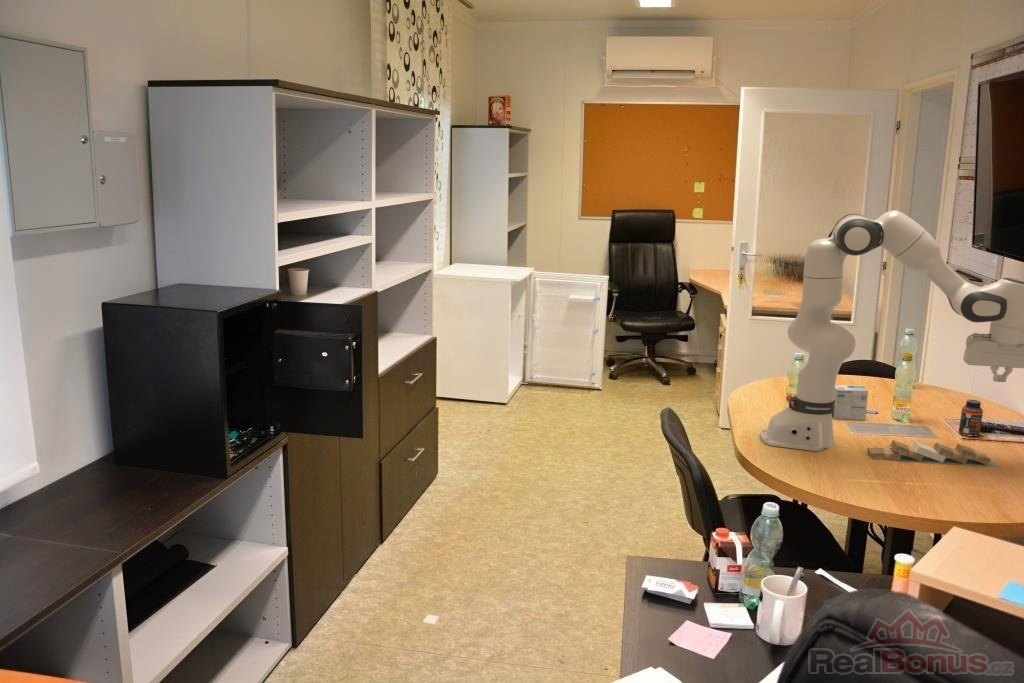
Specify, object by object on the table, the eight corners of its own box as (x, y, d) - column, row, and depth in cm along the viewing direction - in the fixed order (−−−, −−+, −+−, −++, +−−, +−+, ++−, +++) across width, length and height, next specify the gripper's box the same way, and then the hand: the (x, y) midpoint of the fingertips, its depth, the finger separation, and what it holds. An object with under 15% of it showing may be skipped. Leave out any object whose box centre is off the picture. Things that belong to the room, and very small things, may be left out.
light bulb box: (859, 414, 282) (862, 384, 280) (866, 420, 275) (869, 390, 273) (828, 413, 283) (831, 383, 281) (833, 419, 276) (836, 389, 274)
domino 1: (900, 460, 238) (871, 459, 240) (895, 454, 243) (867, 453, 244) (900, 453, 238) (871, 453, 239) (895, 447, 243) (867, 447, 244)
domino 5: (987, 465, 234) (960, 455, 235) (980, 459, 239) (954, 449, 240) (990, 459, 234) (964, 449, 235) (984, 453, 239) (957, 443, 239)
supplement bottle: (968, 438, 258) (973, 404, 256) (954, 432, 264) (958, 399, 261) (983, 436, 260) (988, 403, 257) (969, 430, 266) (973, 397, 263)
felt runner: (899, 461, 238) (899, 460, 238) (893, 454, 244) (893, 453, 244) (998, 467, 234) (998, 466, 234) (990, 460, 240) (990, 459, 239)
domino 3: (942, 462, 236) (916, 452, 237) (937, 456, 241) (911, 446, 242) (946, 456, 236) (919, 446, 237) (940, 450, 241) (914, 440, 241)
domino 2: (921, 461, 237) (894, 451, 238) (915, 455, 242) (889, 445, 243) (924, 455, 237) (897, 445, 237) (918, 449, 242) (892, 439, 242)
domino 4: (965, 464, 235) (938, 453, 236) (958, 458, 240) (932, 448, 241) (968, 458, 235) (941, 448, 236) (962, 452, 240) (936, 442, 240)
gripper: (971, 335, 230) (964, 381, 233) (1050, 339, 226) (1042, 386, 229) (963, 330, 236) (956, 376, 239) (1040, 334, 232) (1032, 380, 235)
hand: (999, 381), depth 234 cm, fingers closed
